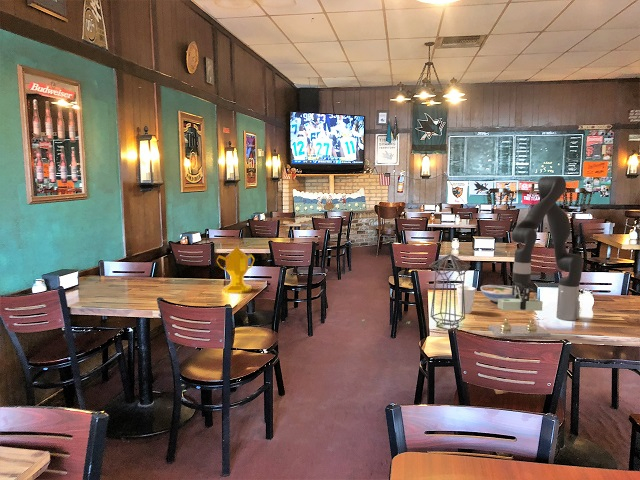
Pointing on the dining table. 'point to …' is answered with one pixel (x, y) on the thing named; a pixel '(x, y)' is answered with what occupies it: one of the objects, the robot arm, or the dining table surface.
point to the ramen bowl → (497, 292)
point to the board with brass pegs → (518, 330)
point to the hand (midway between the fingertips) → (519, 307)
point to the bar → (515, 305)
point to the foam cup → (466, 298)
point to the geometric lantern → (450, 287)
